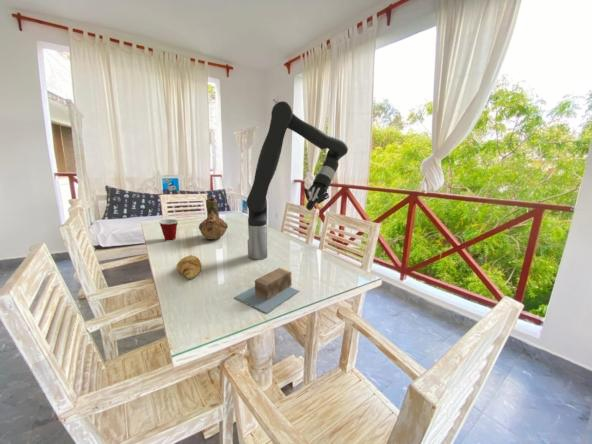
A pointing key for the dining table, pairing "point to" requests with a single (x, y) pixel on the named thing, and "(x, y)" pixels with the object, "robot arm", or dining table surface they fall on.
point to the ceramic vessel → (213, 221)
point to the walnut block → (272, 283)
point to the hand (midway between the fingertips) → (308, 209)
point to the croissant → (189, 266)
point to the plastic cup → (169, 228)
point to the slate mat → (264, 304)
